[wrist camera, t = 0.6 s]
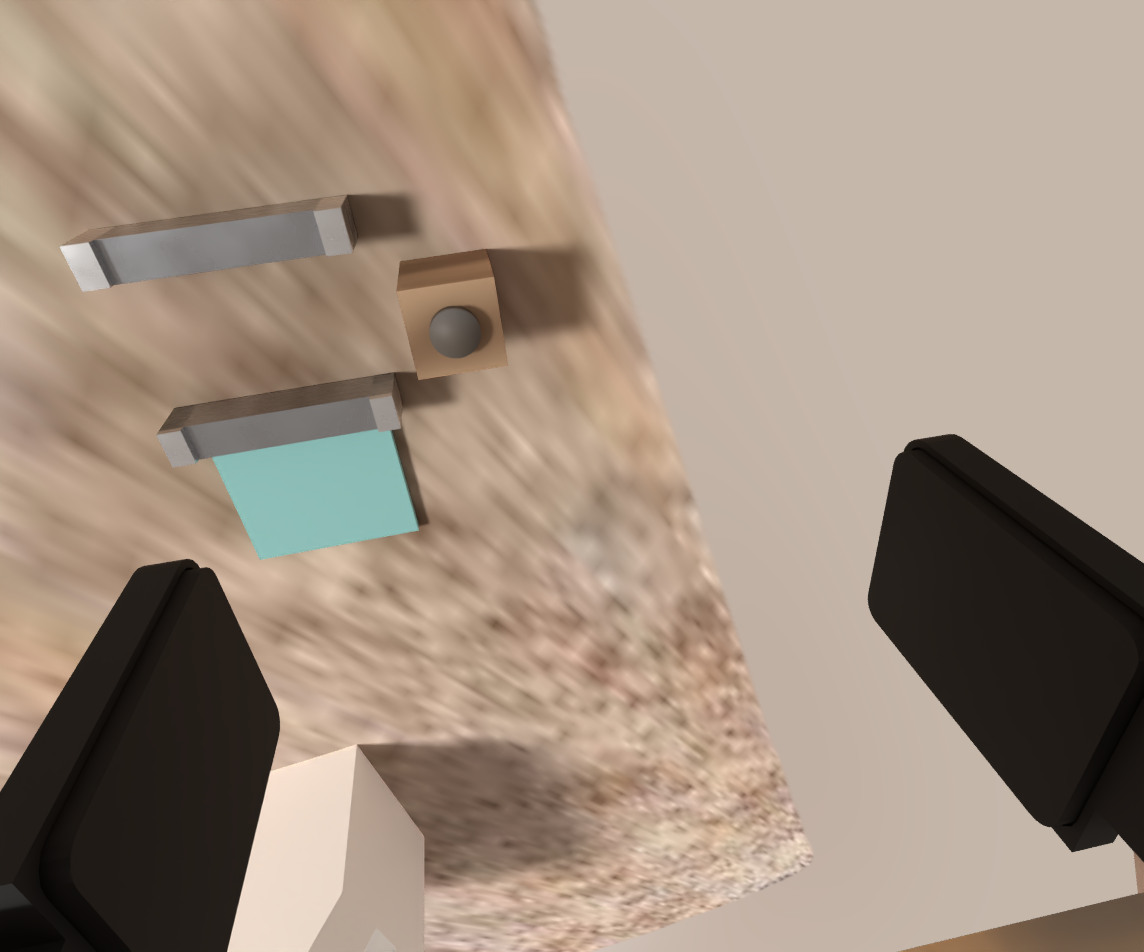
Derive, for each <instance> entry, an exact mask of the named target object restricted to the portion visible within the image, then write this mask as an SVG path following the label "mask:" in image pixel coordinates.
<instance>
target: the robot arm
mask: <svg viewBox="0 0 1144 952" xmlns="http://www.w3.org/2000/svg"><path fill="white" fill-rule="evenodd" d="M868 605H869V609H870V611H871V614H872V616H873V618H874V620H875V621H876V622H877V624H878V625H879V626H880V627H881V629H882V630H883V631H884V632H885V634H886V635H887V636H888V637H889V639H890V640H891V641H892V642H893V644H894V645H895V646H896V647H897V649H898V650H899V651H900V652H901V654H902V655H903V656H904V657H905V659H906V660H907V661H908V662H909V664H910V665H911V666H912V667H913V668H914V670H915V671H916V672H917V673H918V675H919V676H920V677H921V679H922V680H923V681H924V682H925V683H926V685H927V686H928V687H929V689H930V690H931V691H932V692H933V693H934V695H935V696H936V697H937V698H938V700H939V701H940V702H941V704H943V706H944V707H945V708H946V710H947V711H948V712H949V714H950V715H951V716H952V717H953V719H954V720H955V721H956V722H957V723H958V725H959V726H960V727H961V729H962V730H963V731H964V732H965V733H966V735H967V736H968V737H969V738H970V740H971V741H972V742H973V743H974V745H975V746H976V747H977V748H978V750H979V751H980V752H981V753H982V755H983V756H984V757H985V758H986V760H987V761H988V762H989V763H990V765H991V766H992V767H993V768H994V770H995V771H996V772H997V773H998V775H999V776H1000V777H1001V778H1002V780H1003V781H1004V782H1005V783H1006V785H1007V786H1008V787H1009V788H1010V789H1011V791H1012V792H1013V793H1014V795H1015V796H1016V797H1017V798H1018V800H1019V801H1020V802H1021V803H1022V804H1023V806H1024V807H1025V808H1026V810H1027V811H1028V812H1029V813H1030V814H1031V815H1032V816H1033V818H1034V819H1035V820H1036V821H1038V822H1039V823H1041V824H1042V825H1044V826H1047V827H1052V828H1053V829H1054V831H1055V832H1056V833H1057V834H1058V836H1059V837H1060V838H1061V839H1062V841H1063V842H1064V843H1065V844H1066V846H1067V847H1068V848H1069V849H1070V850H1071V852H1075V851H1080V850H1084V849H1088V848H1092V847H1096V846H1101V845H1104V844H1109V843H1113V842H1114V840H1115V839H1116V837H1117V835H1118V834H1119V835H1120V836H1121V838H1122V839H1123V840H1124V841H1125V842H1126V843H1127V844H1128V845H1129V847H1130V848H1131V849H1132V850H1133V851H1134V859H1135V869H1136V878H1137V888H1138V894H1135V895H1131V896H1126V897H1122V898H1119V899H1114V900H1110V901H1106V902H1101V903H1098V904H1093V905H1089V906H1085V907H1081V908H1077V909H1073V910H1068V911H1064V912H1060V913H1056V914H1052V915H1048V916H1043V917H1040V918H1035V919H1031V920H1027V921H1023V922H1019V923H1015V924H1010V925H1006V926H1002V927H998V928H994V929H990V930H986V931H981V932H977V933H973V934H969V935H965V936H960V937H957V938H952V939H949V940H944V941H940V942H936V943H932V944H927V945H923V946H919V947H915V948H911V949H907V950H903V951H899V952H1144V563H1142V562H1141V561H1139V560H1138V559H1136V558H1135V557H1134V556H1132V555H1131V554H1129V553H1128V552H1126V551H1125V550H1124V549H1122V548H1121V547H1119V546H1118V545H1116V544H1115V543H1113V542H1112V541H1111V540H1109V539H1108V538H1106V537H1105V536H1103V535H1102V534H1101V533H1099V532H1098V531H1096V530H1095V529H1093V528H1092V527H1090V526H1089V525H1088V524H1086V523H1084V522H1083V521H1082V520H1080V519H1079V518H1077V517H1076V516H1074V515H1073V514H1072V513H1070V512H1069V511H1067V510H1066V509H1064V508H1063V507H1061V506H1060V505H1059V504H1057V503H1056V502H1054V501H1053V500H1051V499H1050V498H1048V497H1047V496H1046V495H1044V494H1043V493H1041V492H1040V491H1038V490H1037V489H1035V488H1034V487H1032V486H1031V485H1030V484H1028V483H1027V482H1025V481H1024V480H1022V479H1021V478H1020V477H1018V476H1017V475H1015V474H1014V473H1012V472H1011V471H1009V470H1008V469H1007V468H1005V467H1004V466H1002V465H1001V464H999V463H998V462H996V461H995V460H994V459H992V458H991V457H989V456H988V455H986V454H985V453H983V452H982V451H981V450H979V449H978V448H976V447H975V446H973V445H972V444H970V443H969V442H968V441H966V440H965V439H963V438H962V437H960V436H957V435H955V434H948V435H942V436H936V437H929V438H923V439H917V440H913V441H911V442H909V443H908V445H907V446H906V447H905V449H904V452H902V453H900V454H898V456H897V457H896V458H895V461H894V465H893V470H892V475H891V480H890V485H889V491H888V496H887V501H886V506H885V511H884V516H883V521H882V526H881V531H880V536H879V542H878V547H877V552H876V557H875V562H874V568H873V572H872V577H871V583H870V588H869V593H868ZM279 732H280V718H279V712H278V708H277V705H276V703H275V701H274V699H273V697H272V695H271V692H270V690H269V688H268V686H267V684H266V682H265V680H264V677H263V675H262V673H261V671H260V669H259V667H258V664H257V662H256V660H255V658H254V656H253V654H252V652H251V649H250V647H249V645H248V643H247V641H246V639H245V637H244V634H243V632H242V630H241V628H240V626H239V624H238V621H237V619H236V617H235V615H234V613H233V611H232V609H231V606H230V604H229V602H228V600H227V598H226V596H225V593H224V591H223V589H222V587H221V585H220V583H219V581H218V578H217V576H216V575H215V573H214V571H213V570H212V569H210V568H207V567H205V568H200V567H199V566H198V564H197V563H195V562H194V561H193V560H190V559H184V560H178V561H172V562H166V563H160V564H154V565H147V566H143V567H140V568H138V569H137V570H136V571H135V572H134V573H133V575H132V577H131V578H130V580H129V582H128V583H127V585H126V587H125V588H124V590H123V592H122V593H121V595H120V596H119V598H118V600H117V601H116V603H115V605H114V606H113V608H112V610H111V611H110V613H109V614H108V616H107V618H106V619H105V621H104V623H103V624H102V626H101V628H100V629H99V631H98V633H97V634H96V636H95V637H94V639H93V641H92V642H91V644H90V646H89V647H88V649H87V651H86V652H85V654H84V656H83V657H82V659H81V660H80V662H79V664H78V665H77V667H76V669H75V670H74V672H73V674H72V675H71V677H70V678H69V680H68V682H67V683H66V685H65V687H64V688H63V690H62V692H61V693H60V695H59V697H58V698H57V700H56V701H55V703H54V705H53V706H52V708H51V710H50V711H49V713H48V715H47V716H46V718H45V720H44V721H43V723H42V724H41V726H40V728H39V729H38V731H37V733H36V734H35V736H34V738H33V739H32V741H31V742H30V744H29V746H28V747H27V749H26V751H25V752H24V754H23V756H22V757H21V759H20V761H19V762H18V764H17V765H16V767H15V769H14V770H13V772H12V774H11V775H10V777H9V779H8V780H7V782H6V784H5V785H4V787H3V788H2V790H1V792H0V952H227V950H228V946H229V942H230V938H231V933H232V929H233V925H234V921H235V917H236V913H237V908H238V904H239V900H240V896H241V892H242V888H243V883H244V879H245V875H246V871H247V867H248V862H249V858H250V854H251V850H252V846H253V842H254V837H255V833H256V829H257V825H258V821H259V817H260V812H261V808H262V804H263V800H264V796H265V792H266V787H267V783H268V779H269V775H270V771H271V767H272V762H273V758H274V754H275V750H276V746H277V742H278V737H279Z"/></svg>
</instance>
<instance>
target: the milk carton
mask: <svg viewBox="0 0 1144 952" xmlns="http://www.w3.org/2000/svg"><path fill="white" fill-rule="evenodd" d="M227 952H424V835H423V834H422V833H421V831H420V830H419V829H418V827H417V826H416V825H415V823H414V822H413V820H412V819H411V818H410V816H409V815H408V814H407V812H406V811H405V810H404V808H403V807H402V805H401V804H400V803H399V801H398V800H397V799H396V797H395V796H394V795H393V793H392V792H391V790H390V789H389V788H388V786H387V785H386V784H385V782H384V781H383V780H382V778H381V777H380V775H379V774H378V773H377V771H376V770H375V769H374V767H373V766H372V765H371V763H370V762H369V760H368V759H367V758H366V756H365V755H364V754H363V752H362V751H361V750H360V748H359V747H358V745H354V746H350V747H347V748H344V749H341V750H337V751H334V752H331V753H328V754H325V755H321V756H318V757H315V758H312V759H309V760H305V761H302V762H299V763H296V764H292V765H289V766H286V767H283V768H280V769H276V770H273V771H270V775H269V779H268V783H267V787H266V792H265V796H264V800H263V804H262V808H261V812H260V817H259V821H258V825H257V829H256V833H255V837H254V842H253V846H252V850H251V854H250V858H249V862H248V867H247V871H246V875H245V879H244V883H243V888H242V892H241V896H240V900H239V904H238V908H237V913H236V917H235V921H234V925H233V929H232V933H231V938H230V942H229V946H228V950H227Z"/></svg>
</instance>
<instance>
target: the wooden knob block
mask: <svg viewBox="0 0 1144 952" xmlns="http://www.w3.org/2000/svg"><path fill="white" fill-rule="evenodd" d="M397 295H398V299H399V303H400V307H401V311H402V315H403V319H404V323H405V327H406V331H407V336H408V340H409V344H410V348H411V352H412V356H413V360H414V364H415V368H416V372H417V376H418V380H422V379H428V378H434V377H440V376H447V375H453V374H459V373H465V372H471V371H477V370H483V369H489V368H496V367H502V366H508V361H507V355H506V348H505V342H504V336H503V330H502V324H501V317H500V311H499V305H498V299H497V293H496V286H495V280H494V275H493V272H492V268H491V264H490V261H489V257H488V254H487V250H486V249H482V250H475V251H468V252H461V253H454V254H448V255H441V256H434V257H427V258H420V259H413V260H407V261H400V267H399V275H398V284H397Z"/></svg>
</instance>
